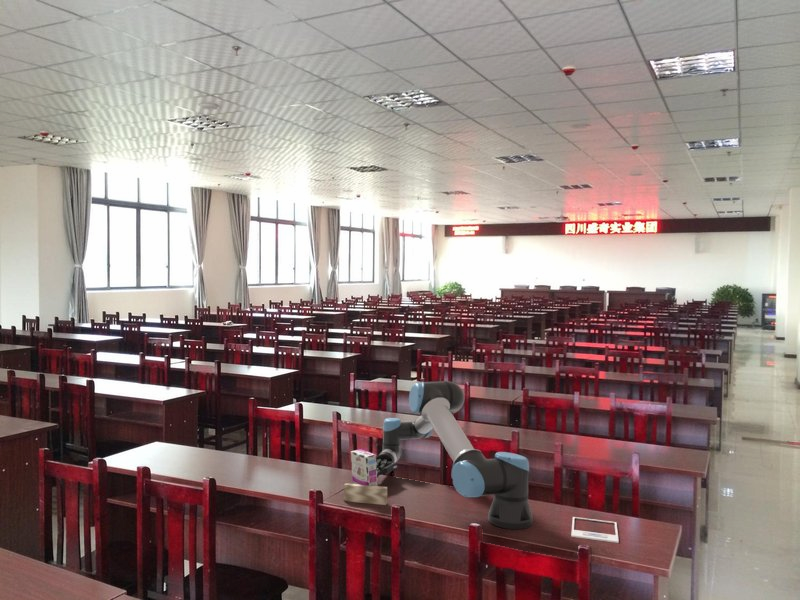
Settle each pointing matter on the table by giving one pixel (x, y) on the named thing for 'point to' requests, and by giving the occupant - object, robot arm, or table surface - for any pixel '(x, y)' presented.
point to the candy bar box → (364, 468)
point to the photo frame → (595, 535)
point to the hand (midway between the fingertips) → (372, 476)
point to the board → (365, 494)
